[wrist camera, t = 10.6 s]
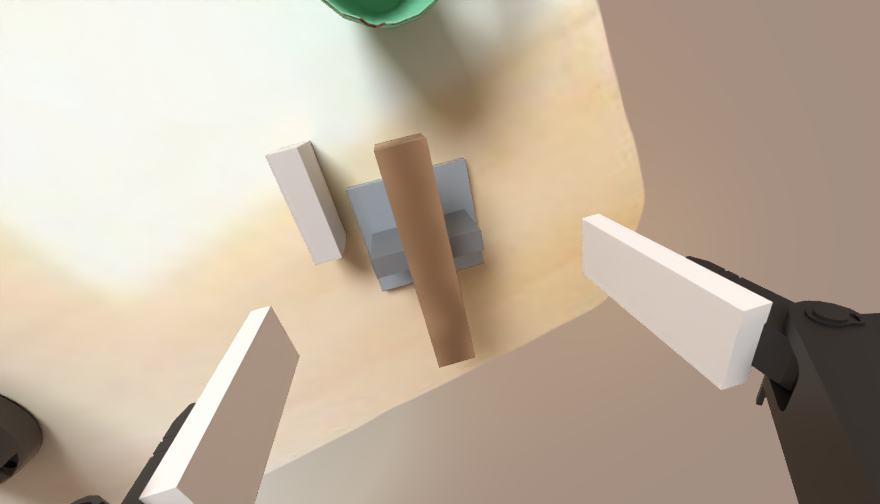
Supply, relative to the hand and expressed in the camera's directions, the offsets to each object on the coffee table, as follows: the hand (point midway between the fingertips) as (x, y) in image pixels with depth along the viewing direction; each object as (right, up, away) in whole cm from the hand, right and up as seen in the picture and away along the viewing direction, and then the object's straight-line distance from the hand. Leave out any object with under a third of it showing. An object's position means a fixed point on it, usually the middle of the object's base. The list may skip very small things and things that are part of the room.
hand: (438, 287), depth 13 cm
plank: (-1, +1, +15) cm, 15 cm away
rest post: (-12, +7, +18) cm, 23 cm away
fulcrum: (-2, +4, +21) cm, 22 cm away
